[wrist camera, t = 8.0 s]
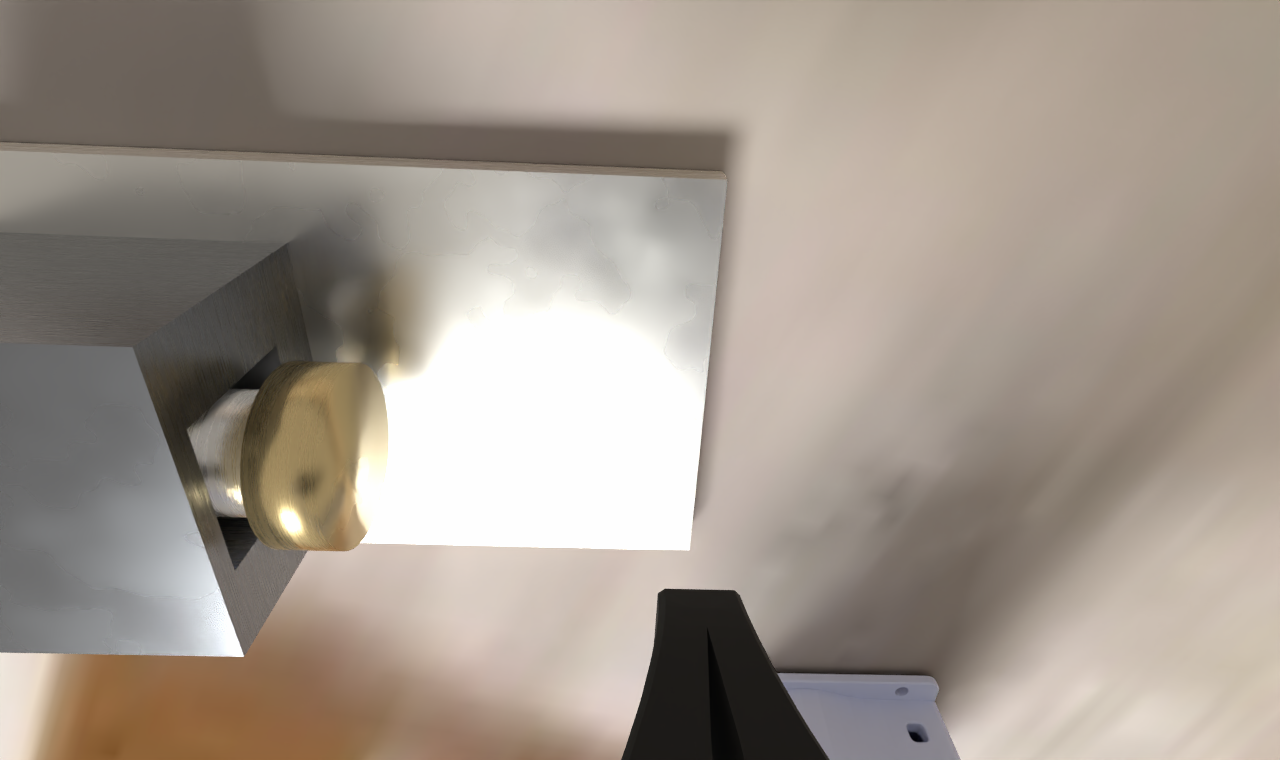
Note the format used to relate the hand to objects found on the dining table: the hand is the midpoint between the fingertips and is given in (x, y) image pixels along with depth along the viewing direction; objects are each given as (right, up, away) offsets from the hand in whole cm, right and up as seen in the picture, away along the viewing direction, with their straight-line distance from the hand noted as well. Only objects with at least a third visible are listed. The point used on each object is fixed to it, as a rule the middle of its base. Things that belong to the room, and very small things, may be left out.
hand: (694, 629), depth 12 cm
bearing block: (-10, +5, +8) cm, 14 cm away
